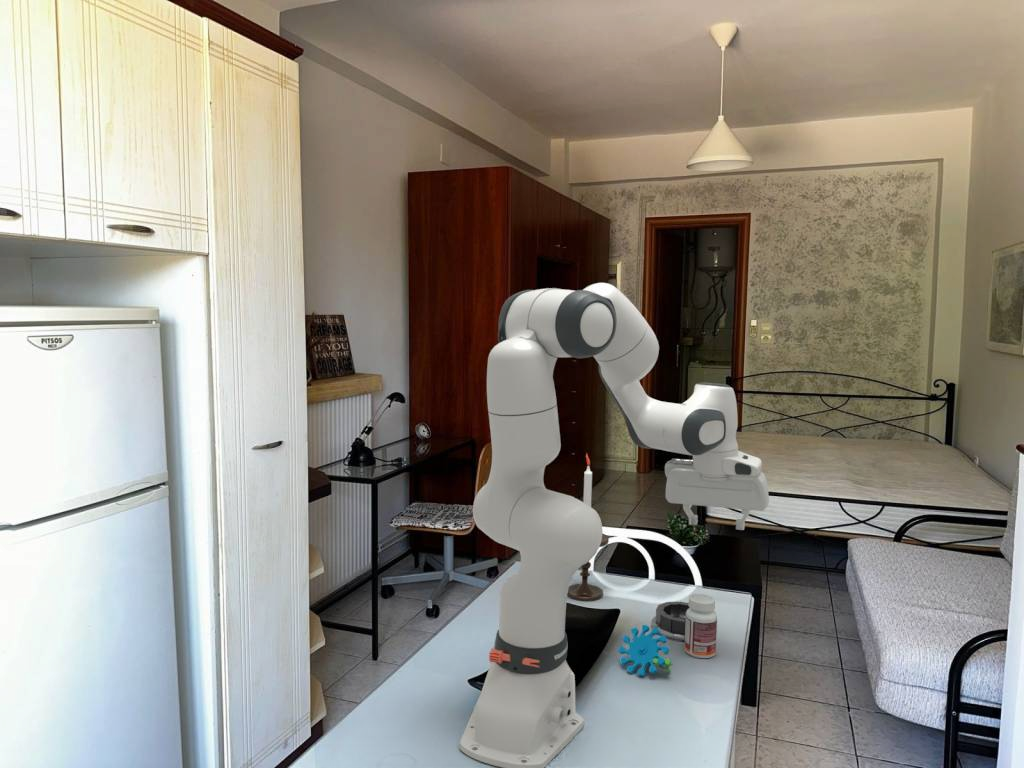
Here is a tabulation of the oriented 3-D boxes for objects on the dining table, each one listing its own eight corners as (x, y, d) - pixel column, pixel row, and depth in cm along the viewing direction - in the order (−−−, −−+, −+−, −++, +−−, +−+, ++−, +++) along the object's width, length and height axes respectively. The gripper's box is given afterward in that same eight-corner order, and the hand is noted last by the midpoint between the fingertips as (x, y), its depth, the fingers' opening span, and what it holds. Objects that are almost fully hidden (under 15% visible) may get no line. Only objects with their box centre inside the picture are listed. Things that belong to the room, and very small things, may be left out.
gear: (607, 656, 140) (636, 614, 143) (618, 669, 143) (646, 628, 147) (652, 686, 132) (681, 641, 135) (662, 699, 135) (691, 655, 139)
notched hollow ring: (709, 646, 149) (710, 627, 149) (646, 635, 154) (647, 617, 153) (715, 622, 161) (715, 605, 161) (656, 613, 166) (657, 596, 165)
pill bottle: (721, 654, 146) (724, 600, 145) (702, 662, 142) (704, 606, 141) (697, 643, 151) (700, 590, 150) (677, 650, 147) (680, 596, 146)
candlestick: (553, 591, 178) (557, 451, 175) (585, 583, 184) (590, 448, 181) (582, 606, 169) (587, 459, 166) (615, 596, 175) (621, 455, 173)
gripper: (660, 461, 147) (662, 526, 149) (765, 468, 138) (766, 537, 140) (668, 454, 153) (670, 516, 155) (769, 460, 144) (770, 526, 146)
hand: (716, 526), depth 147 cm, fingers open, 8 cm apart
